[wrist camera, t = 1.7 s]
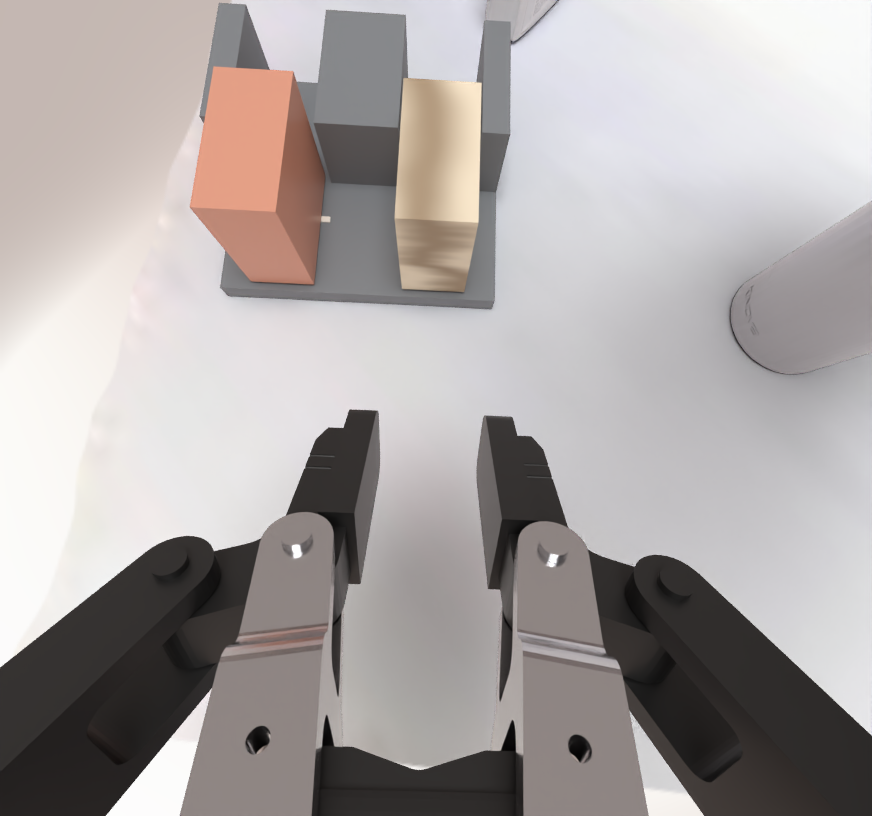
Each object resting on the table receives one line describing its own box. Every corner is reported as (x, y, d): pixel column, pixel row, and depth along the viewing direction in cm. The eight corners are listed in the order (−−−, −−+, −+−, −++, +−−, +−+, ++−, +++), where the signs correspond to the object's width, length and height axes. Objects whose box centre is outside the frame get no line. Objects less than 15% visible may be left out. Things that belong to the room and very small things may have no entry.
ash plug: (467, 182, 36) (481, 82, 27) (464, 292, 34) (478, 222, 25) (408, 179, 36) (403, 78, 27) (401, 288, 34) (394, 218, 25)
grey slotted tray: (494, 108, 40) (510, 21, 32) (491, 308, 36) (509, 261, 28) (257, 94, 39) (218, 2, 32) (228, 295, 35) (177, 244, 28)
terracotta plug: (325, 174, 36) (293, 71, 27) (314, 284, 34) (275, 211, 25) (265, 171, 36) (213, 66, 27) (251, 281, 34) (189, 207, 25)
